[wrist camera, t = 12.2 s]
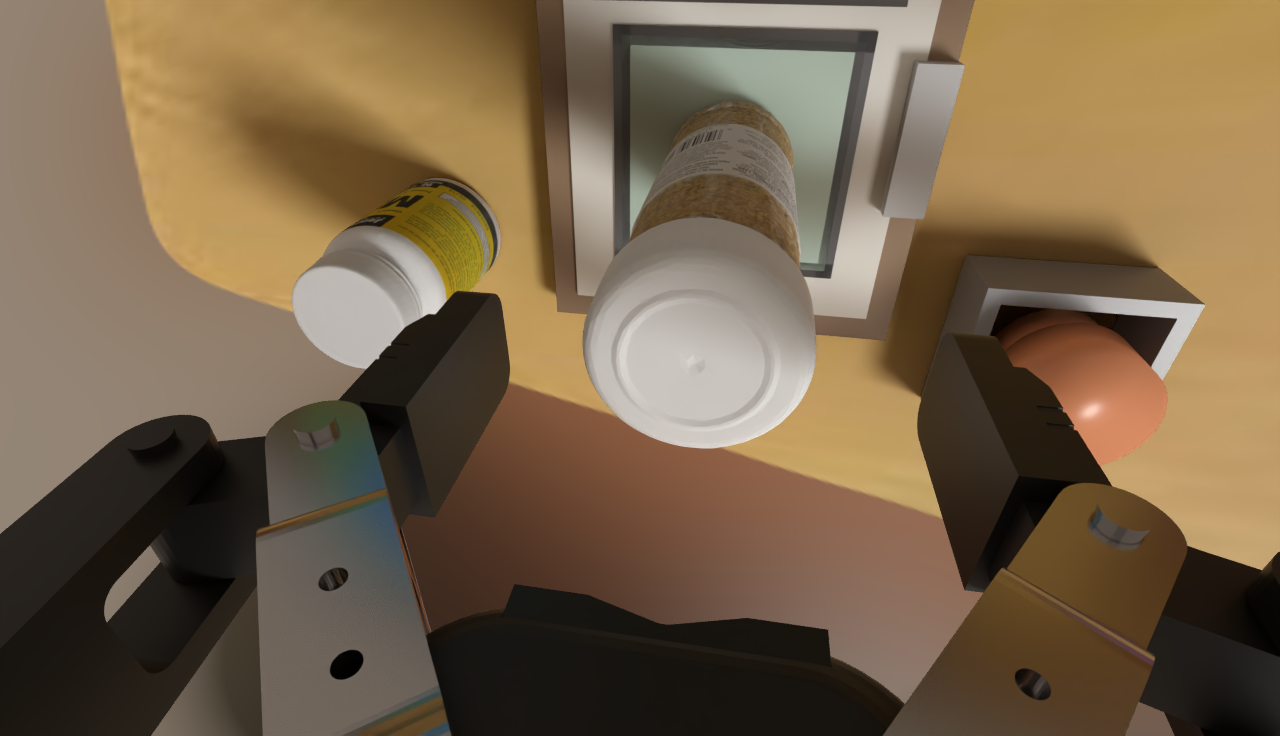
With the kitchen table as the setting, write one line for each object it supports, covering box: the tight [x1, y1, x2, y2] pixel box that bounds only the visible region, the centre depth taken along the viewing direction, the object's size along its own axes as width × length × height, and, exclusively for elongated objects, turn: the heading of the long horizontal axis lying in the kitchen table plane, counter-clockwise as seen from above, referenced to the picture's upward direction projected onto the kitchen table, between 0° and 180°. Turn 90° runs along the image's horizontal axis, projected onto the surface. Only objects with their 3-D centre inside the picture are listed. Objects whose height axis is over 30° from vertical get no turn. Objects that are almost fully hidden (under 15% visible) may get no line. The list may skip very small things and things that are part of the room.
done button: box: [994, 309, 1168, 465], centre depth 24 cm, size 5×5×4 cm
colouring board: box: [536, 0, 975, 340], centre depth 23 cm, size 16×14×2 cm
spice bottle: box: [583, 101, 816, 448], centre depth 17 cm, size 5×5×13 cm
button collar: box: [921, 255, 1205, 400], centre depth 25 cm, size 7×7×3 cm
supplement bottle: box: [292, 178, 501, 369], centre depth 24 cm, size 5×5×8 cm
